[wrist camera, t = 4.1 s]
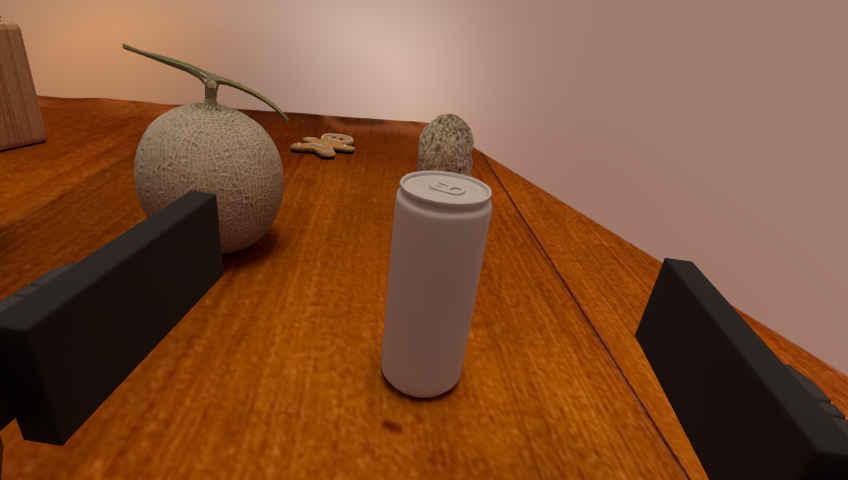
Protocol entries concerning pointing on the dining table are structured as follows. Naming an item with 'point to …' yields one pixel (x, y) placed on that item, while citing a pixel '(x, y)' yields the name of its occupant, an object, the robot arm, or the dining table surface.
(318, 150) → the cookie
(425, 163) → the stone
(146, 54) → the fruit
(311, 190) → the dining table surface
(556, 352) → the dining table surface
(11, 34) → the decorative item
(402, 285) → the beverage can
